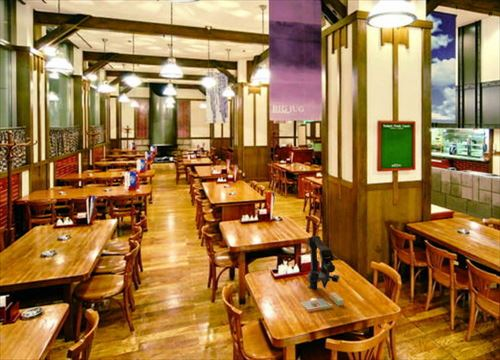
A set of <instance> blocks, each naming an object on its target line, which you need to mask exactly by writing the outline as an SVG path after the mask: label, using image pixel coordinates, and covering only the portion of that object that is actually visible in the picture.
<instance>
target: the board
mask: <svg viewBox="0 0 500 360" xmlns="http://www.w3.org/2000/svg"><path fill="white" fill-rule="evenodd" d="M317 299H318V304H315V305H312V304H311V303H310V300H305V301H302V302H301V301H300V302H299V303H300V304H301V306H302V307H303V308H304V309H305V310H306V311H307V313H310V312H314V311H321V310H327V309H332V308H333V304H332V303H331V302H329V301H326V299H324V298H323V297H322V298H317Z"/></svg>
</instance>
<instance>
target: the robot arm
mask: <svg viewBox="0 0 500 360" xmlns="http://www.w3.org/2000/svg"><path fill="white" fill-rule="evenodd" d="M306 243H307V246H308V248H309V250H310V270H309V272H308V276H307V277H306V279H307V281H308V283H309V285H308V286H307V288H308V289H310V290H318V282H321V284H322V286H323V288H324V289H326V287H327V286H328V283H329V282H334V283H338V282H339V281H340V275H338V274H337V275H336V274H333V275H330V274H332V273H334V272H335V270H336V266H335V265H334V263H333V261H334V255H333V252H332V250H331V248H330V247H328V246H326V244H325V243H324V242H323V241H322V238H321V236H320V235H314V236H312V237H308V238H307V239H306ZM318 250H319V256H320V257H319V258H320V271H319V269H318Z"/></svg>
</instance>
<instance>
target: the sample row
mask: <svg viewBox="0 0 500 360" xmlns="http://www.w3.org/2000/svg"><path fill="white" fill-rule="evenodd" d="M329 299H330V300H331V301H332V302H333V303H335V304H336V305H337V306H338V307H339V306H343V305H344V299H343V298H342V297H341V296H339V294H337V293H336V292H335V291H333V292H329Z"/></svg>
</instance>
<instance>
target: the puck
mask: <svg viewBox="0 0 500 360" xmlns="http://www.w3.org/2000/svg"><path fill="white" fill-rule="evenodd" d="M318 299H319V298H316V297H313V298H310V300H309V301H310V303H311V304H312V305H315V304H318Z"/></svg>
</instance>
